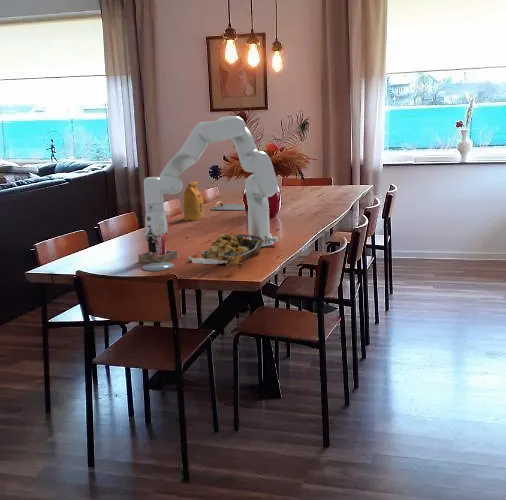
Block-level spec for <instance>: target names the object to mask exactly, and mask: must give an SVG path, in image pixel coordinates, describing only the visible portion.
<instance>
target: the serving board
mask: <svg viewBox="0 0 506 500" xmlns="http://www.w3.org/2000/svg"><path fill="white" fill-rule="evenodd" d="M210 211H234V212H235V211H238V212H239V211H244V212H246V211H245V208H244V205H243V204H240V203H239V204H237V203H235V204H234V203H233V204H231V203H224V202H223V201H220V200H219V201H217V202H215V204H214V206H211V208H210Z"/></svg>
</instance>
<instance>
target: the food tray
mask: <svg viewBox="0 0 506 500" xmlns="http://www.w3.org/2000/svg"><path fill="white" fill-rule="evenodd" d="M249 237H251V238H252V240H249ZM254 238H257V239H258V240H256V239H255V240H254ZM263 242H264V239H263V238H261V237H257V236H252V235H249V234H243V233H242V234H241V233H239V234H236V233H234V232H232V233H220V234H218V235H217V238H216V239H215V240H212V241H211V245H210V246H209V249H207V250H205V251H202V252H201V253H200V254H201V256H202V257H200V258H199V257H197V258H196V257H195V258H193V257H191V255H190V256H188V261H190V262H192V263H194V264H206V265H207V264H208V265H219V264H220V265H223V264H225V266H226V267H232V265H238V266H239V267H240V268H242V267H243V263H245V261H248V259H250V258H251V257H253V256H255V255H256V254H257V253H259V252H260V249H261V244H262V243H263Z"/></svg>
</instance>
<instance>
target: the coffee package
mask: <svg viewBox="0 0 506 500" xmlns="http://www.w3.org/2000/svg"><path fill="white" fill-rule="evenodd" d="M198 184H199V182H198V181H193V182H188V184H187V186H186V188H185V190H184V193H183V215H184V221H198V220H201V219H203V218H204V217H205V209H204V199H203V195H202V193H201V192H200V191H199V189H198V186H197V185H198Z"/></svg>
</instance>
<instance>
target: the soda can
mask: <svg viewBox="0 0 506 500" xmlns="http://www.w3.org/2000/svg"><path fill="white" fill-rule="evenodd" d="M161 233H162V232H161ZM151 235H153V234H151ZM151 238H153V237H151ZM154 242H155V243H156V252H149V255H155V256H162V255H165V254H166V250H167V243H166V242H167V241H166V240H165V234H164V233H162V234H161V235H159V236H155V241H154Z"/></svg>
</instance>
